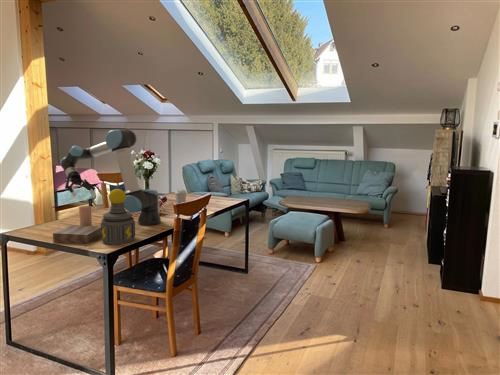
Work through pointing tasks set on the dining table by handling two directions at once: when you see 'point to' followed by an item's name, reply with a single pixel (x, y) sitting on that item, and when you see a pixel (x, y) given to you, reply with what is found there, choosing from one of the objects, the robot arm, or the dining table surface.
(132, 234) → the decorative lamp
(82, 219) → the terracotta canister
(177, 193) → the coffee cup
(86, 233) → the walnut plinth
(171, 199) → the dining table surface
